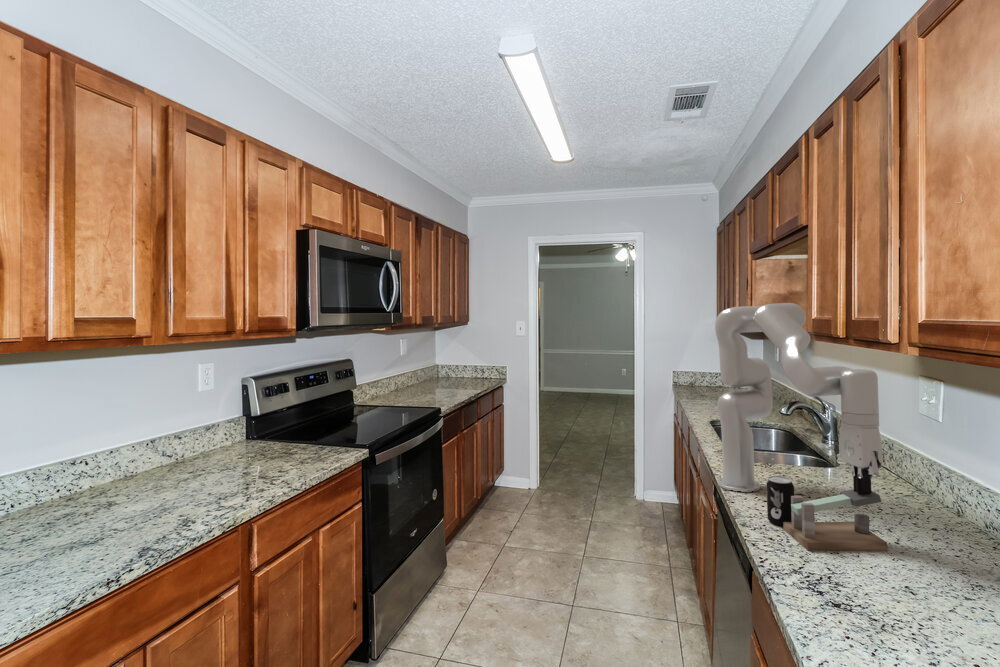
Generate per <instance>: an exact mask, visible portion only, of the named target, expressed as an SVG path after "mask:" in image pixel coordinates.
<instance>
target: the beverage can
mask: <svg viewBox="0 0 1000 667" xmlns="http://www.w3.org/2000/svg"><path fill="white" fill-rule="evenodd" d="M767 479H768V480H767V481H766V510H767V511H766V512H767V513H766V514H767V515H766V516H767V520H768V521H769V522H770V524H772V523H773V525H775V526H778V527H783V522H792V517H791V496H795V485H794V484H793V480H792V479H791V478H789V477H786V476H782V475H781V476H780V475H771V476H768V477H767Z"/></svg>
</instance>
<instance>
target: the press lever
mask: <svg viewBox="0 0 1000 667" xmlns="http://www.w3.org/2000/svg"><path fill="white" fill-rule="evenodd" d="M801 503H812V504H813V505H814V513H816V512H821V511H828V510H832V509H837V508H842V507H846V506H853V507H855V508H857V507H862V506H867V505H874V504H877V503H882V498H881V495H880V494H878V493H876V492H874V491H872V490H871V494H858V493H857V492H854V488H853V489H849V490H843V491H839V494H838V495H832V496H827V497H822V498H817V499H812V500H807V501H803V502H801ZM801 503H796V504H791V508H792V511H793V512H795V513H796V514H797V515H802V507H801Z"/></svg>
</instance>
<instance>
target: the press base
mask: <svg viewBox="0 0 1000 667" xmlns="http://www.w3.org/2000/svg"><path fill="white" fill-rule="evenodd" d="M801 502H804V497H803V496H802V495H794V496H791V504H796V503H801ZM801 507H802V515H797V514H796V513H795V512H793V511H792V508H791V517H792V522H783V526H782V527H783V531H785V533H787V534H788V535H789V536H790V535H791V536H792V537H791V536H790V537H791V538H793V539H794V541H796V542H797V543H798V542H799V543H800V544H799V543H798V544H799V545H800V546H802V547H803V548H804V549H805V550H806V551H807V550H808V552H810V551H811V552H812V551H813V552H814V551H815V552H820V551H821V552H822V551H823V552H824V551H825V552H827V551H829V552H831V551H832V552H833V551H834V552H835V551H836V552H845V551H846V552H847V551H848V552H851V551H853V552H856V551H857V552H861V551H862V552H868V551H869V552H880V551H881V552H888V542H887V541H885V539H883V538H882V537H880V536H878V535H876V534H875V533H874V532H872V531H871V530H870V516H869V515H868V514H864V513H854V514H853V518H854V521H815V519H816V518H815V512H814V505H813V504H812V503H801Z"/></svg>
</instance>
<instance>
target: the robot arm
mask: <svg viewBox="0 0 1000 667" xmlns="http://www.w3.org/2000/svg"><path fill="white" fill-rule="evenodd" d="M806 321H807V315H806V312H805V311H804V309H803V308H802V307H801V306H800V305H799V304H797V303H793V302H783V303H782V302H781V303H778V302H777V303H776V302H775V303H774V302H773V303H768V304H763V305H749V306H747V305H745V306H732V307H729V308H726V309H724V310H722V311H721V312H720V313H718V315H717V317H716V319H715V323H714V330H715V336H716V338H717V342H718V352H719V355H718V356H719V369H720V370H719V371H720V379H721V383H723V385H725V387H727V388H745V387H746V388H747V390H737V391H736V390H735V391H729V392H725V393H723V394H721V395H720V397H718V399H717V404H716V406H717V411H718V416H719V421H720V427H721V429H720V430H721V450H722V451H721V452H722V453H721V456H722V458H721V459H722V477H721V478H719V479H718V480H717V484H718V486H719V487H720V488H723V489H724V490H727V491H731V490H733V491H732V492H737V491H741V492H740V493H751V492H752V491H753V492H757V491H759V490H760V489H761V484H760V482H758V481H757V480H755V452H754V451H755V450H754V449H755V448H754V433H753V430H752V428H751V427H750V425H749V422H748V420H755V419H757V420H758V419H763V418H766V417H768V416H770V415H771V412H772V410H773V405H774V404H773V403H774V402H773V386H772V385H773V384H772V372H771V369H770V367H769V365H768V363H767V362H766V361H765V360H764V359H761V358H759V357H748V356H749V355H748V345H747V343H746V341H745V339H744V337H743V336H742V335H741V334H743V333H764V335H765V336H766V337H767V338H768V339H769V340H770V341H771V343H772V344H774V345H775V347H776V348H777V349H778V351H780V353H781V354H780V355H781V357H780V362H781V366H782V371H783V373H784V375H785V376H786V378H788V380H789V381H790V382H791V383H792V385H794V387H795V388H797V390H799V392H801V393H802V394H804V395H805V396H808V397H811V398H812V397H813V398H818V397H828V396H840V409H841V413H840V414H841V424H840V428H839V435H838V436H839V439H838V440H839V441H838V455H839V459H841V460H842V461H843V462H846V464H847V465H849V466H850V469H851V471H850V472H851V474H852V476H853V477H852V478H853V479H852V480H853V489H854V492H857V493H858V494H871V491H872V479H873V476H874V475H876V476H877V475H879V474H880V473H879V469H881V468H882V467H883V462H884V460H883V459H884V458H883V457H884V456H883V444H882V438H881V432H880V428H879V427H880V414H879V412H880V410H879V409H880V408H879V407H880V405H879V383H878V380H879V379H878V378H879V377H878V374H877V373H876V372H875V371H874V370H872V369H865V368H864V369H861V368H850V367H846V366H837V365H835V366H821V367H820V366H819V367H812V366H811V364H809V363H808V361H806V359H805V358H804V357H803V356H802V354H801V353H802V352H803V351H804V350H806V348H808V346H809V344H810V342H811V335H810V334H809V332H808V331H807V330H805V329H804V328H803V326H805V324H806Z"/></svg>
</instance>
